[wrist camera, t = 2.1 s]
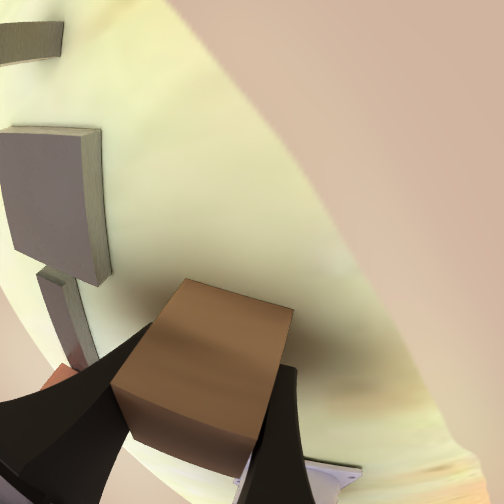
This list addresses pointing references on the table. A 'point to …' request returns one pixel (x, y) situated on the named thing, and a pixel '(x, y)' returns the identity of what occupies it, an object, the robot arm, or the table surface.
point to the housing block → (204, 376)
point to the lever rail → (67, 316)
